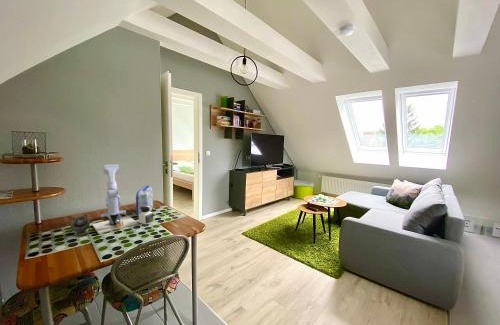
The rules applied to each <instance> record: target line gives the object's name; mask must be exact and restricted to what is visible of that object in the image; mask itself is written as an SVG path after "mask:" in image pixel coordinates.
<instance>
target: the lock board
mask: <svg viewBox="0 0 500 325" xmlns="http://www.w3.org/2000/svg"><path fill="white" fill-rule="evenodd" d="M119 218H120V223H121V227H118V228H117V227H116V226H115V225H109V220H110V219H109V220H105V221H99V222H96V223H92V227H93V229H94V230H95V231H96V232H97V234H99V235H100V234H103V233H107V232H111V231H115V230H118V229H123V228H126V227H131V226H134V225H137V224H138V222H137V221H136V220H134V219H133V218H132V217H130V215H127V216H121V217H119Z"/></svg>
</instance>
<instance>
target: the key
mask: <svg viewBox="0 0 500 325" xmlns="http://www.w3.org/2000/svg"><path fill="white" fill-rule="evenodd" d="M120 218H121V217H119V218H117V219H116V222H115V226H116V227H117V228H118V227H121V223H120ZM109 225H114V223H113V221H112V219H109Z"/></svg>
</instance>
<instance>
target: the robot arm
mask: <svg viewBox="0 0 500 325" xmlns="http://www.w3.org/2000/svg"><path fill="white" fill-rule="evenodd" d="M102 167H103V168H102V169H103V174H104V175H107V176H108V181H107V185H106V186H107V190H106V198H105V205H106V207H107V212H104V213H101V215H100V216H101V218H104V217H107V218H108V219H109V220H111V219H112V221H113V223H114V225H115V222H116V219H117V218H121V217H122V215H123V214H124V215H126V214H127V211H126V210H127V209H125V210H120V205H121V204H122V203H121V201H122V200H121V196H120V195H119V189H118V182H117V181H116V175H117V174H119V172H120V169H119V167H120V166H119V164H118V163H117V164H116V163H115V164H104V165H103V166H102Z"/></svg>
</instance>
